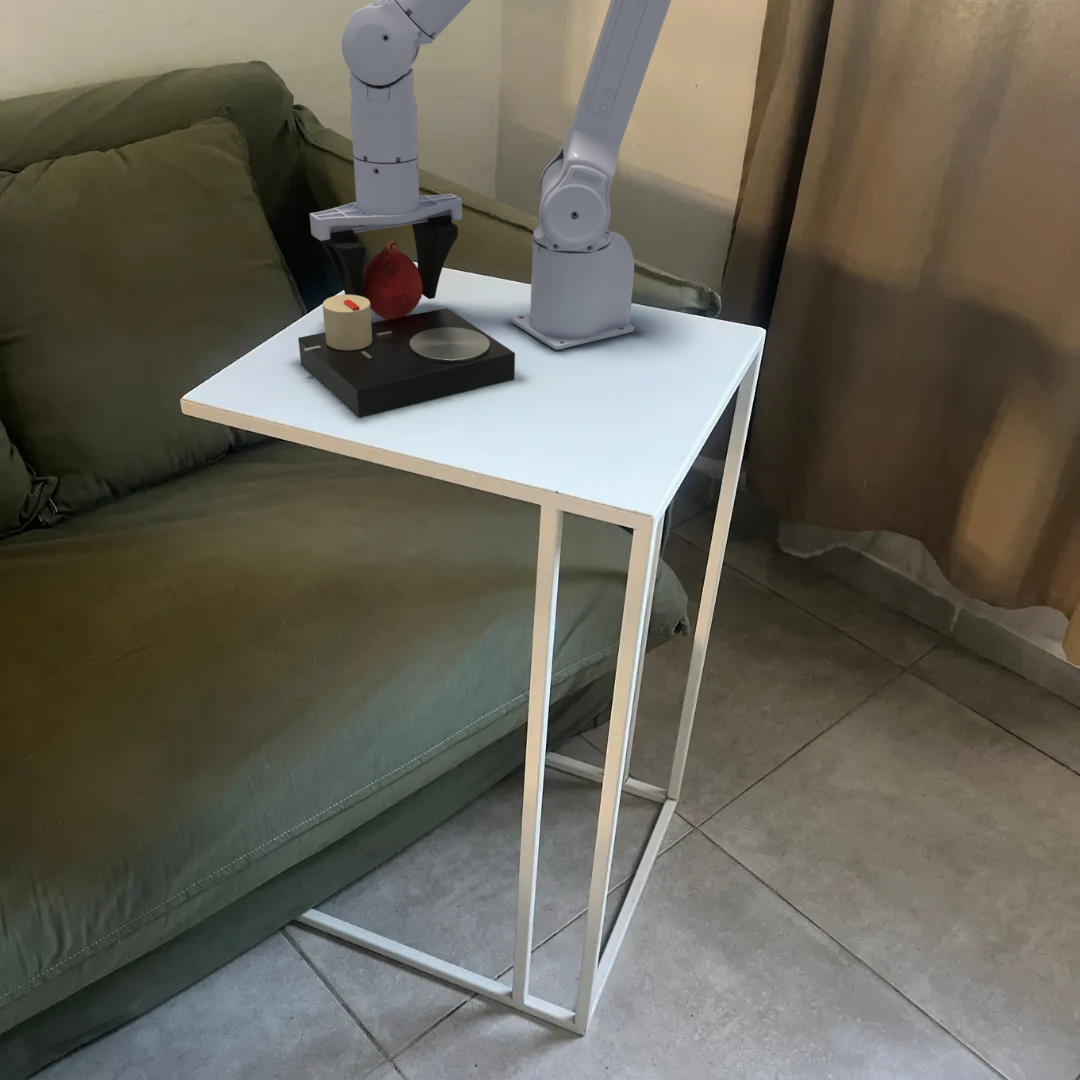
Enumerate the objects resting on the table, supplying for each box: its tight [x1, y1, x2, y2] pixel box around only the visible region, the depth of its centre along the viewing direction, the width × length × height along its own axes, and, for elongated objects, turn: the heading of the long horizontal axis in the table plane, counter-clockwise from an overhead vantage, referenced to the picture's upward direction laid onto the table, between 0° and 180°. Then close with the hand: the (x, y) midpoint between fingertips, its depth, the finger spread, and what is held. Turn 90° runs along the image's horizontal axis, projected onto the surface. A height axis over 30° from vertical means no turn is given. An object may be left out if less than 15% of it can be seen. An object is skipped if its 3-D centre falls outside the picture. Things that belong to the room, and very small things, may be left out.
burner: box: [410, 327, 490, 363], centre depth 89 cm, size 7×7×1 cm
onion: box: [363, 239, 423, 320], centre depth 97 cm, size 6×6×8 cm
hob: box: [297, 307, 516, 418], centre depth 89 cm, size 16×13×3 cm
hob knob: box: [322, 294, 372, 350], centre depth 87 cm, size 4×4×4 cm
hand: (392, 302), depth 98 cm, fingers open, 7 cm apart
